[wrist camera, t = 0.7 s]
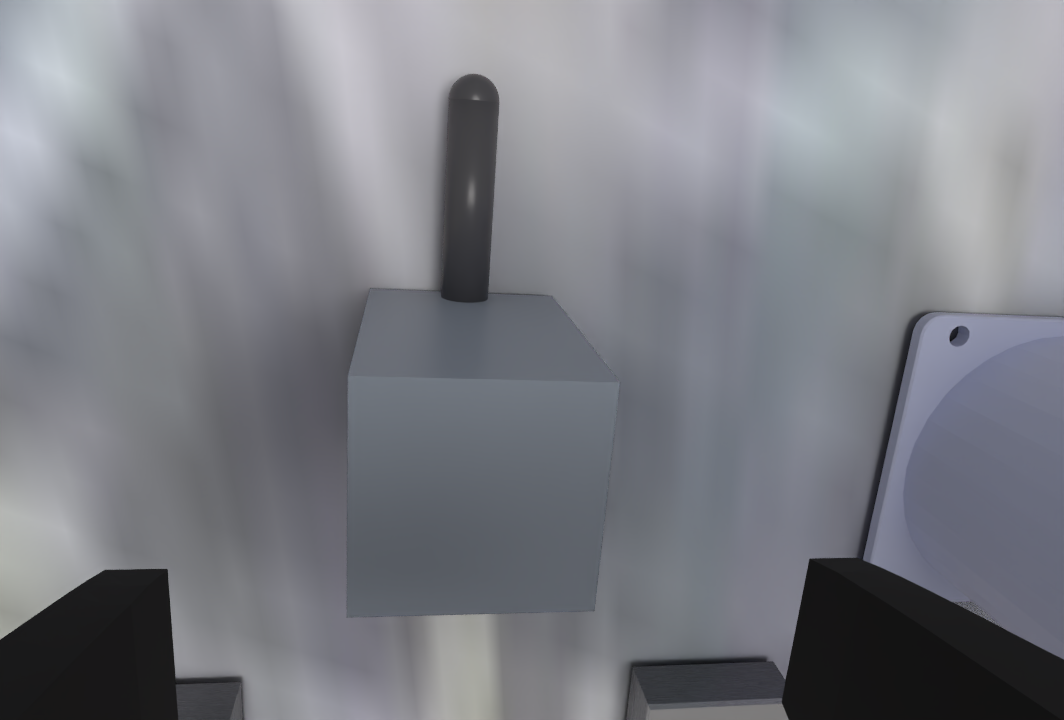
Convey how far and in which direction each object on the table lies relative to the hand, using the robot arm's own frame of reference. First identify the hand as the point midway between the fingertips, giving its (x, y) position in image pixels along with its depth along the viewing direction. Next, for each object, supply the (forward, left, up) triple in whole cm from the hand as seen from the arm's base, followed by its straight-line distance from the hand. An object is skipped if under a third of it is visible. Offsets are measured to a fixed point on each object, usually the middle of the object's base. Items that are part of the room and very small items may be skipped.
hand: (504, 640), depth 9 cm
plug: (0, -2, -9) cm, 10 cm away
